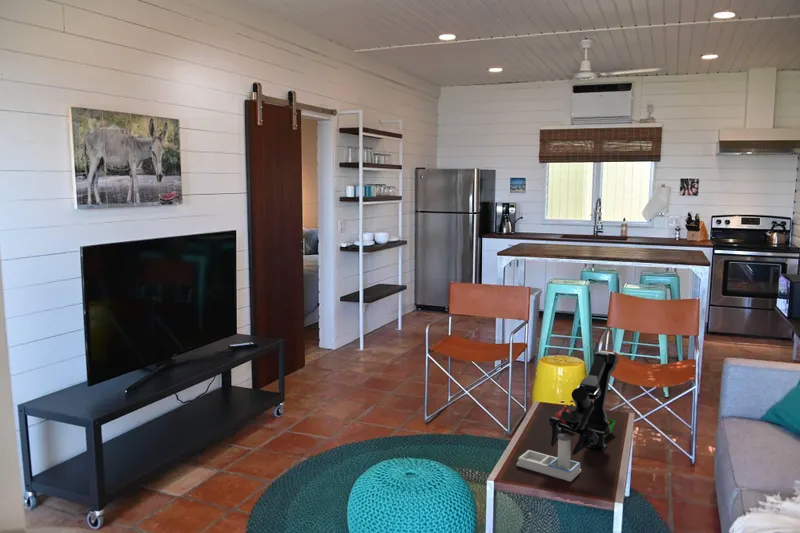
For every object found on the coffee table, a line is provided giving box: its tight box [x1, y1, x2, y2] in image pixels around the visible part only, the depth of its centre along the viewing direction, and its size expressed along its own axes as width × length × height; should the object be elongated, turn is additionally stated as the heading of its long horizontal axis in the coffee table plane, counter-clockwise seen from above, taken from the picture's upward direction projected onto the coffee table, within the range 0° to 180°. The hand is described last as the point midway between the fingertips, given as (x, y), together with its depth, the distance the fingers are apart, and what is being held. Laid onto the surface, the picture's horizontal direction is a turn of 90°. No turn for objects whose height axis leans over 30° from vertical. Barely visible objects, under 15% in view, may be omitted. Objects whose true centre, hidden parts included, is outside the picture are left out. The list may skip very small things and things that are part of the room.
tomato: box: [554, 405, 573, 429], centre depth 273 cm, size 10×10×9 cm
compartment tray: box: [516, 449, 582, 482], centre depth 234 cm, size 10×21×4 cm, turn 53°
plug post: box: [557, 432, 572, 470], centre depth 230 cm, size 5×5×13 cm
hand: (562, 450), depth 229 cm, fingers open, 9 cm apart
